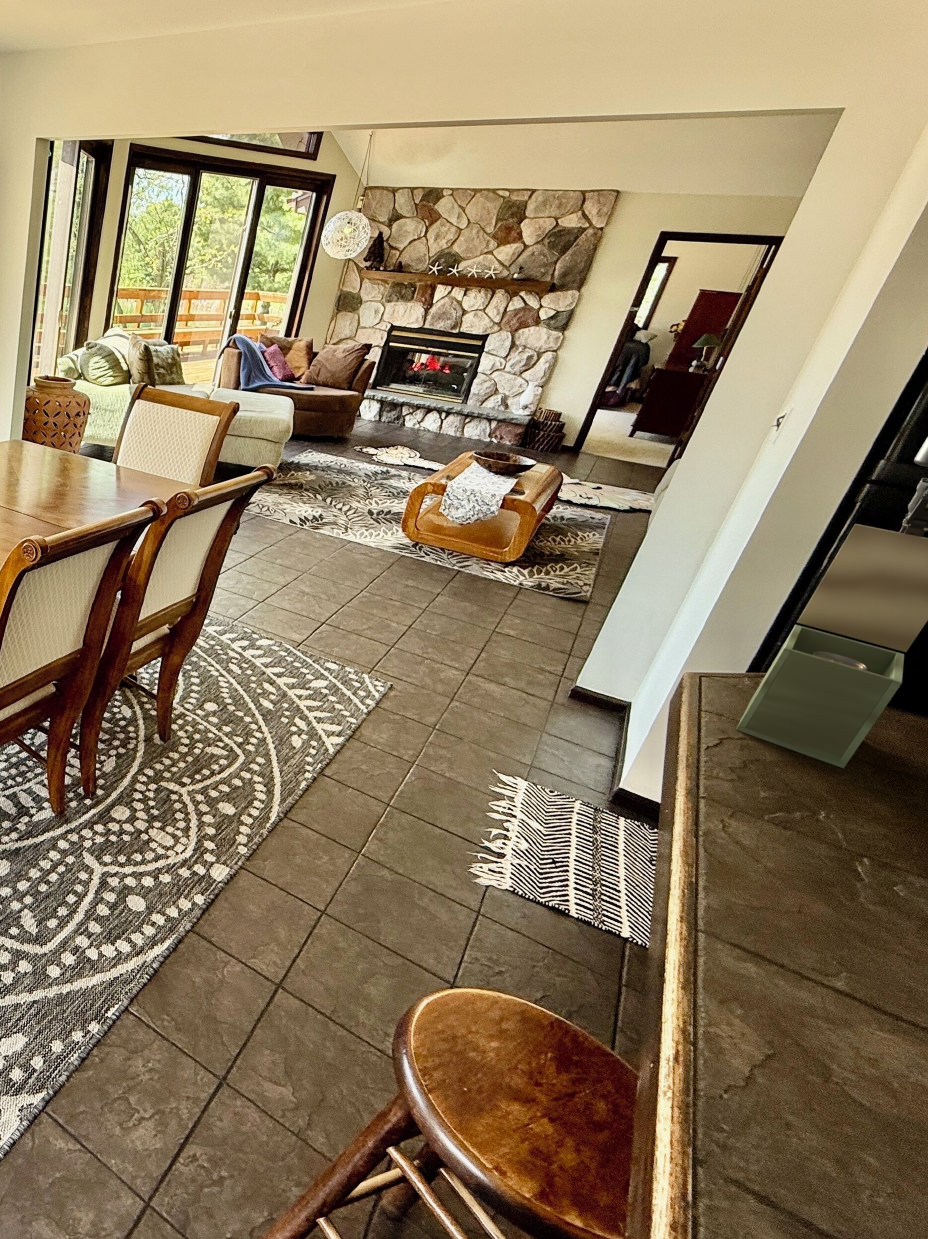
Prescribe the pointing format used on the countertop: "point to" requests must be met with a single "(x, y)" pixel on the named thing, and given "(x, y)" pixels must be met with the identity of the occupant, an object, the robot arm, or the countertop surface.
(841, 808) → the countertop surface
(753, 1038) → the countertop surface
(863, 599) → the lid
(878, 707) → the chest
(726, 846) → the countertop surface
